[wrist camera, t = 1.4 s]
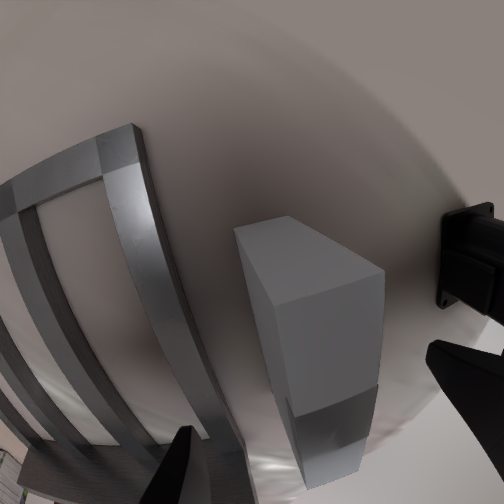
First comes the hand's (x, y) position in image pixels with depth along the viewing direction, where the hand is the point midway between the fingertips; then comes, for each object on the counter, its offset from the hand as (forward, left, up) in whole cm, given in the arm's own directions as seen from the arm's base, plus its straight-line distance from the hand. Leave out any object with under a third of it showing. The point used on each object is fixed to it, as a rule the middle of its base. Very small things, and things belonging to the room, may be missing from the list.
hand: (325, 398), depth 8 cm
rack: (+14, 0, -6) cm, 15 cm away
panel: (0, 0, -6) cm, 6 cm away
